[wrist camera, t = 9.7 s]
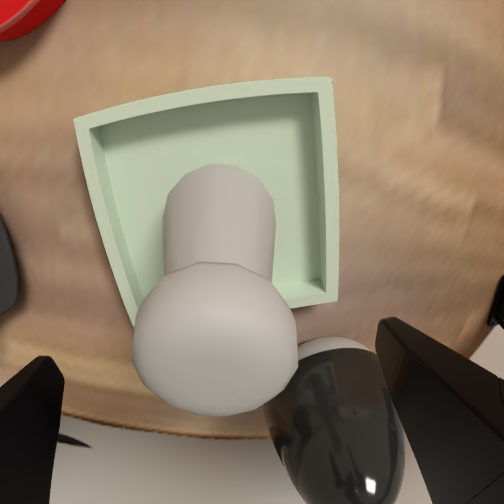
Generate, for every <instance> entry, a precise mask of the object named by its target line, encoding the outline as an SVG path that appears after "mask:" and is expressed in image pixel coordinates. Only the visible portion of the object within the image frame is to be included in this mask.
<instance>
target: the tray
mask: <svg viewBox="0 0 504 504" xmlns="http://www.w3.org/2000/svg"><path fill="white" fill-rule="evenodd" d="M74 124H75V130H76V135H77V141H78V146H79V151H80V155H81V160H82V165H83V169H84V173H85V178H86V182H87V186H88V190H89V194H90V198H91V202H92V205H93V209H94V213H95V216H96V220H97V223H98V227H99V230H100V234H101V237H102V240H103V244H104V247H105V250H106V253H107V256H108V259H109V262H110V265H111V268H112V271H113V274H114V277H115V280H116V283H117V286H118V288H119V291H120V294H121V297H122V299H123V302H124V305H125V307H126V310H127V312H128V315H129V317H130V320H131V322H132V325H133V327H134V326H135V318H136V314H137V311H138V309H139V307H140V304H141V302H142V300H143V299H144V298H145V297H146V296H147V295H148V294H149V293H150V291H151V290H152V289H153V288H154V287H155V286H156V285H157V284H158V283H159V282H160V281H161V279H162V278H163V277H165V272H164V250H163V213H164V209H165V204H166V200H167V196H168V193H169V192H170V191H171V190H172V189H173V187H174V186H175V185H176V184H177V183H178V182H179V181H180V179H181V178H182V177H183V176H184V175H185V174H187V173H189V172H191V171H193V170H196V169H198V168H201V167H203V166H206V165H208V164H225V165H236V166H238V167H240V168H241V169H243V170H245V171H247V172H249V173H250V174H252V175H254V176H256V177H257V178H259V179H260V180H261V182H262V183H263V185H264V186H265V188H266V189H267V191H268V192H269V194H270V196H271V197H272V199H273V202H274V210H275V218H276V233H275V247H274V260H273V273H272V284H273V285H274V286H275V288H276V289H277V290H278V292H279V293H280V295H281V296H282V297H283V299H284V300H285V301H286V303H287V304H288V306H289V307H290V309H291V308H297V307H304V306H310V305H316V304H322V303H328V302H334V301H338V276H339V187H338V159H337V140H336V124H335V111H334V98H333V87H332V77H306V78H286V79H271V80H259V81H249V82H240V83H232V84H224V85H217V86H210V87H203V88H197V89H191V90H186V91H180V92H175V93H170V94H165V95H160V96H155V97H151V98H146V99H142V100H138V101H134V102H130V103H126V104H122V105H118V106H114V107H111V108H107V109H104V110H100V111H97V112H93V113H90V114H87V115H84V116H80V117H77V118H74Z"/></svg>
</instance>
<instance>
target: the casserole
mask: <svg viewBox="0 0 504 504" xmlns="http://www.w3.org/2000/svg"><path fill="white" fill-rule="evenodd" d="M18 295H19V275H18V271H17V266H16V261H15V256H14V252H13V249H12V246H11V243H10V239H9V236H8V233H7V229H6V227H5V225H4V223H3V220H2V218H1V216H0V316H1V315H2V314H4V313H5V312H7V311H8V310H9V309H10V308H12V307H13V306H14V305H15V304H16V302H17V298H18Z"/></svg>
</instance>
